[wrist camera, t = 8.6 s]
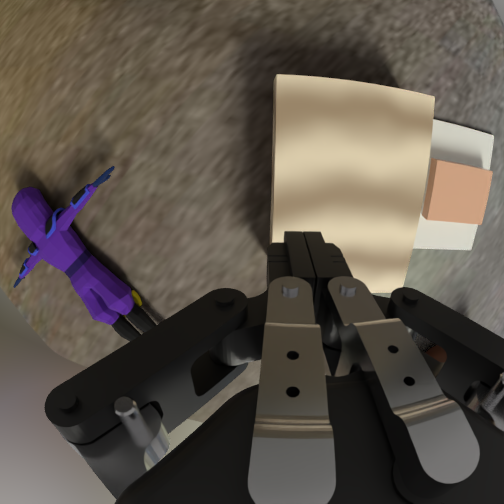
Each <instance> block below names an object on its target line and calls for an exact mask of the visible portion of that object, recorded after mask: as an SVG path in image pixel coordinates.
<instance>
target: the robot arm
mask: <svg viewBox="0 0 504 504" xmlns="http://www.w3.org/2000/svg"><path fill="white" fill-rule="evenodd" d="M417 333H419V334H420V335H422V336H423V337H425V338H427V339H428V340H430V341H432V342H433V343H435V344H437V345H438V346H440V347H442V348H443V349H444V350H445V352H446V354H447V359H446V361H445V362H439V361H437V360H436V359H434V358H433V357H431V356H429V355H428V354H426V353H425V352H423V351H421V350H420V349H418V347H417V346H416V344H415V342H414V340H415V338H416V336H417ZM260 359H261V370H260V380H259V384H257V385H254V386H251V387H249V388H247V389H244V390H242V391H241V392H239V393H237V394H236V395H234V396H233V397H231V398H230V399H229V400H228V401H226V402H225V403H224V404H223V405H222V406H221V407H220V408H219V409H218V410H217V411H216V412H215V413H214V414H212V415H211V416H210V417H209V418H208V419H207V420H206V421H205V422H204V423H203V424H202V425H201V426H199V427H198V428H197V429H196V430H195V431H194V432H193V433H192V434H190V435H189V436H188V437H187V438H186V439H185V440H184V441H183V442H181V443H180V444H179V445H178V446H177V447H176V448H174V449H173V450H172V451H171V452H170V453H169V454H168V455H166V456H165V457H164V458H163V459H162V460H160V459H161V458H162V457H163V456H164V455H165V454H166V452H167V451H168V449H169V445H170V438H169V435H168V434H169V433H170V432H171V431H172V430H173V429H175V428H176V427H177V426H179V425H180V424H181V423H182V422H184V421H185V420H186V419H187V418H189V417H190V416H191V415H192V414H194V413H195V412H196V411H197V410H199V409H200V408H201V407H202V406H203V405H205V404H206V403H207V402H208V401H209V400H211V399H212V398H213V397H214V396H215V395H217V394H218V393H219V392H220V391H221V390H222V389H224V388H225V387H226V386H227V385H228V384H229V383H230V382H232V381H233V380H234V379H235V378H236V377H237V376H238V375H240V374H241V373H242V372H243V371H244V370H245V369H246V367H247V366H248V362H252V361H256V360H260ZM45 413H46V416H47V417H48V419H49V420H50V421H51V422H52V424H53V425H54V426H55V427H56V428H57V429H58V431H59V432H60V434H61V435H62V437H63V438H64V439H65V440H66V441H67V442H68V444H69V445H70V446H71V447H72V448H73V449H74V450H75V451H76V452H77V453H78V454H79V455H80V456H81V457H82V458H84V459H85V460H86V462H87V463H88V465H89V466H90V467H91V468H92V470H93V471H94V472H95V474H96V475H97V476H98V478H99V479H100V480H101V481H102V483H103V484H104V485H105V486H106V488H107V489H108V490H109V491H110V492H111V493H112V495H113V496H114V497H115V498H116V499H117V500H116V502H115V504H504V339H503V338H501V337H500V336H498V335H496V334H495V333H493V332H491V331H489V330H488V329H486V328H484V327H483V326H481V325H479V324H477V323H476V322H474V321H472V320H470V319H469V318H467V317H465V316H463V315H461V314H460V313H458V312H456V311H454V310H453V309H451V308H449V307H447V306H445V305H443V304H442V303H440V302H438V301H436V300H434V299H433V298H431V297H429V296H427V295H425V294H423V293H421V292H420V291H418V290H415V289H412V288H408V287H400V288H397V289H395V290H393V291H392V293H391V297H390V298H386V297H381V296H376V295H372V294H371V293H370V291H369V289H368V288H367V286H366V285H365V284H364V283H363V282H362V281H360V280H358V279H356V278H354V277H353V275H352V273H351V271H350V269H349V267H348V264H347V263H346V260H345V258H344V257H343V254H342V252H341V250H340V248H338V247H337V246H336V245H335V244H333V243H325V241H324V238H323V236H322V234H321V232H320V231H303V232H302V231H284V242H272V243H271V245H270V246H269V247H268V248H267V290H266V291H265V292H264V293H263V294H261V295H259V296H256V297H252V298H247V297H246V296H245V294H244V293H242V292H241V291H238V290H236V289H231V288H221V289H216V290H213V291H211V292H209V293H207V294H206V295H204V296H203V297H201V298H200V299H198V300H196V301H195V302H193V303H192V304H190V305H188V306H187V307H185V308H184V309H182V310H180V311H179V312H177V313H176V314H174V315H172V316H171V317H169V318H168V319H166V320H164V321H163V322H161V323H160V324H158V325H156V326H155V327H153V328H152V329H150V330H148V331H147V332H145V333H143V334H142V335H140V336H139V337H137V338H135V339H134V340H132V341H131V342H129V343H127V344H126V345H124V346H122V347H121V348H119V349H118V350H116V351H114V352H113V353H111V354H109V355H108V356H106V357H105V358H103V359H101V360H100V361H98V362H96V363H95V364H93V365H92V366H90V367H88V368H87V369H85V370H83V371H82V372H80V373H78V374H77V375H75V376H73V377H72V378H71V379H69V380H67V381H65V382H64V383H62V384H60V385H59V386H57V387H56V388H54V389H53V390H52V391H51V393H50V394H49V395H48V397H47V399H46V402H45ZM159 460H160V461H159Z"/></svg>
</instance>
